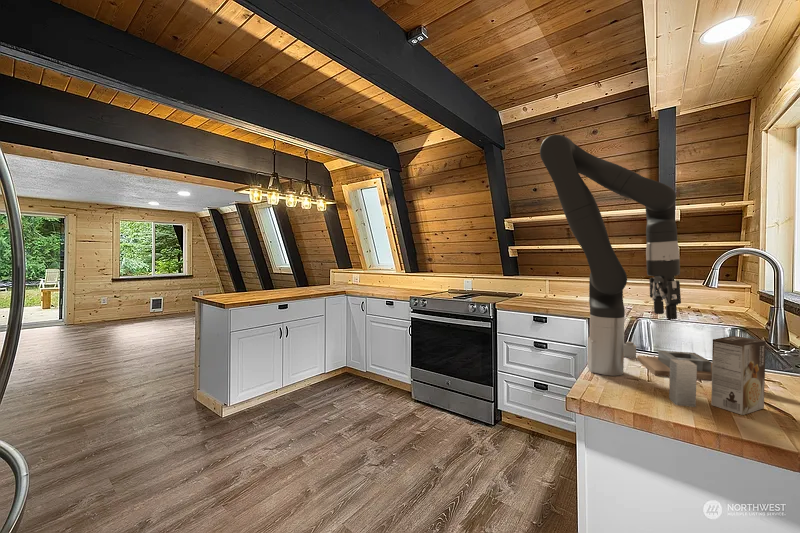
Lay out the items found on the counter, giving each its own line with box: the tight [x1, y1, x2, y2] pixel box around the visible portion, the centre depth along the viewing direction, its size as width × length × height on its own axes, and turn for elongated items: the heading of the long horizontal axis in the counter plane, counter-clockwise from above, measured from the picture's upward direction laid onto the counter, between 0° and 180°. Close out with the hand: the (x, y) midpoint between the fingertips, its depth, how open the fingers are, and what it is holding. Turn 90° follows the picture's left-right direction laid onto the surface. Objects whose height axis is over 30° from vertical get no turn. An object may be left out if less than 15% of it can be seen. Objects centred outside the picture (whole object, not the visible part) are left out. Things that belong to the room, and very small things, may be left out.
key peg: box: [668, 359, 698, 408], centre depth 89 cm, size 4×4×10 cm
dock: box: [636, 349, 712, 381], centre depth 114 cm, size 20×16×4 cm
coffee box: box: [710, 335, 767, 416], centre depth 86 cm, size 9×6×16 cm
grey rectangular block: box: [624, 341, 637, 359], centre depth 129 cm, size 7×2×8 cm, turn 55°
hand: (665, 316), depth 102 cm, fingers open, 8 cm apart
